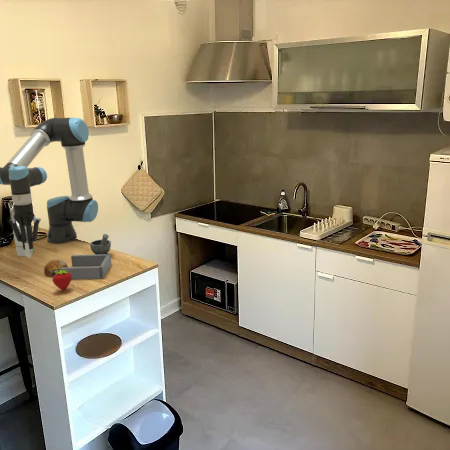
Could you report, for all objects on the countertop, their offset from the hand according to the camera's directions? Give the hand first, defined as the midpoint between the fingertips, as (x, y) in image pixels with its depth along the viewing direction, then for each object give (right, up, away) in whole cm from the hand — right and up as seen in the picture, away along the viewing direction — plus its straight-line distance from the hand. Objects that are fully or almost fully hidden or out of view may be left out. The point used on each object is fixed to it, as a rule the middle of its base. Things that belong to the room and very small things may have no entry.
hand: (29, 256), depth 199 cm
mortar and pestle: (+26, -2, +23) cm, 35 cm away
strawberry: (+21, -13, -16) cm, 29 cm away
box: (+24, -7, +4) cm, 25 cm away
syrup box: (-13, -1, +27) cm, 30 cm away
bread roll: (+11, -8, +3) cm, 14 cm away
